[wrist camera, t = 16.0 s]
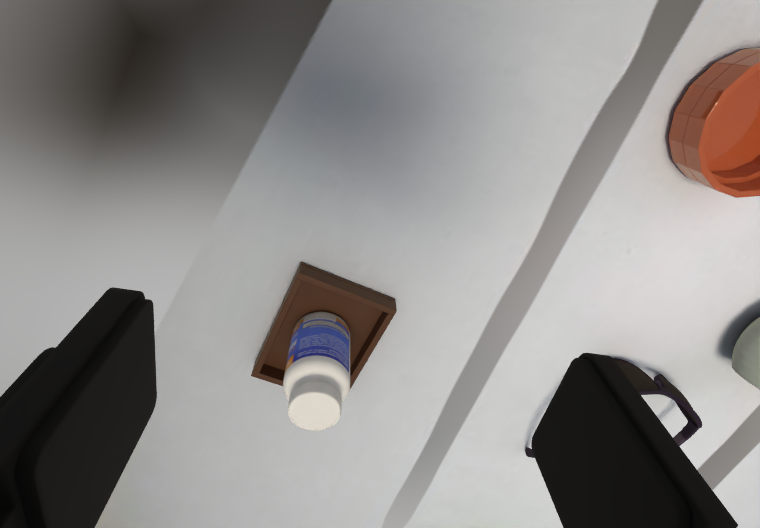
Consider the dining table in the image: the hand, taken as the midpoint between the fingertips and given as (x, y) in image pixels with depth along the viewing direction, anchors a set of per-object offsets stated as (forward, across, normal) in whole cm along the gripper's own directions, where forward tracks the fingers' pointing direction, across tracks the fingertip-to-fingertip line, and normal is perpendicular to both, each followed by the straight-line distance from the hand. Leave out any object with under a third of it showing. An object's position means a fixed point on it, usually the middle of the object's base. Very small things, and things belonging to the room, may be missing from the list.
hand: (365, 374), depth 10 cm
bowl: (+27, -28, -6) cm, 40 cm away
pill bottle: (+27, 0, +20) cm, 33 cm away
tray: (+27, 0, +20) cm, 33 cm away
